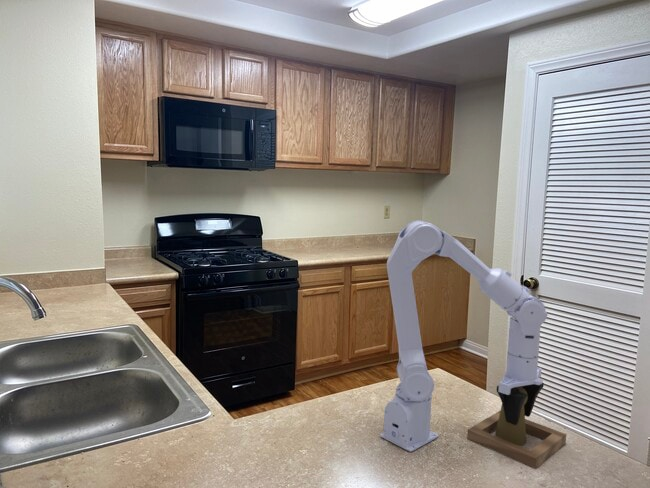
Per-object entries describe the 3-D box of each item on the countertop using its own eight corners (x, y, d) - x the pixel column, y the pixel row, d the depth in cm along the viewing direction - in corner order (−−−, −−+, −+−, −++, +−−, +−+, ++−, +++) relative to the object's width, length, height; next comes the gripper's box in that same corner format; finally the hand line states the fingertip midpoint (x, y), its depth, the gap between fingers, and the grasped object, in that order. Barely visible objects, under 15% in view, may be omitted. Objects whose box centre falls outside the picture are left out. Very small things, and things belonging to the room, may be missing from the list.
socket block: (535, 468, 87) (536, 458, 87) (467, 438, 98) (467, 429, 97) (565, 443, 97) (566, 434, 97) (500, 418, 107) (501, 410, 107)
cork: (527, 448, 95) (532, 395, 93) (495, 442, 96) (499, 390, 95) (525, 433, 100) (529, 383, 99) (494, 428, 102) (498, 379, 101)
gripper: (526, 367, 88) (520, 438, 89) (558, 351, 97) (553, 415, 99) (490, 357, 93) (486, 424, 94) (524, 343, 102) (519, 403, 104)
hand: (518, 418), depth 97 cm, fingers closed on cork, 5 cm apart
